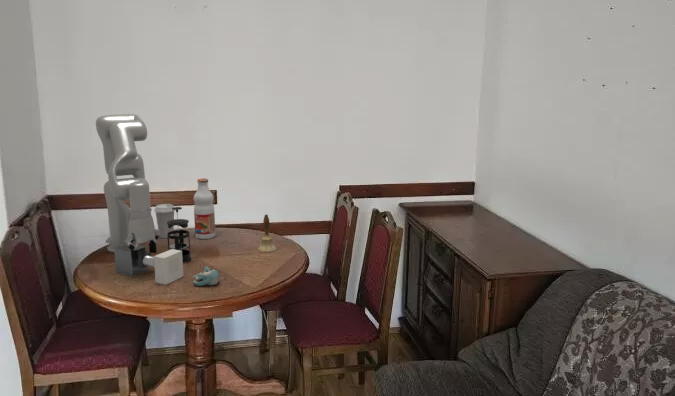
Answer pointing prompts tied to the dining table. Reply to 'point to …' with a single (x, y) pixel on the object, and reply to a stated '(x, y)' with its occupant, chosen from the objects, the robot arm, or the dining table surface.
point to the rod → (145, 260)
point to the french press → (179, 237)
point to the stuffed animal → (206, 277)
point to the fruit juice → (204, 211)
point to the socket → (168, 266)
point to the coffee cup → (164, 219)
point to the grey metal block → (127, 261)
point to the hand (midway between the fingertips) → (144, 256)
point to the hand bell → (267, 238)
